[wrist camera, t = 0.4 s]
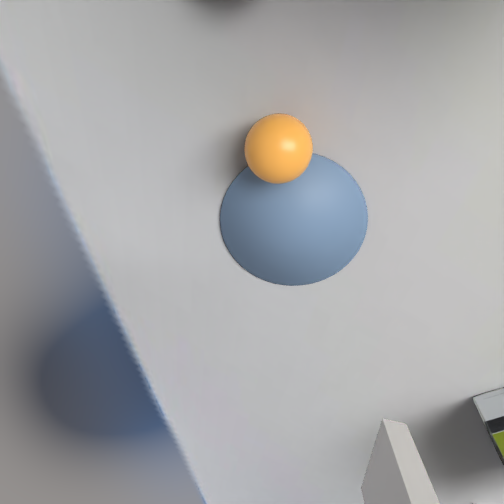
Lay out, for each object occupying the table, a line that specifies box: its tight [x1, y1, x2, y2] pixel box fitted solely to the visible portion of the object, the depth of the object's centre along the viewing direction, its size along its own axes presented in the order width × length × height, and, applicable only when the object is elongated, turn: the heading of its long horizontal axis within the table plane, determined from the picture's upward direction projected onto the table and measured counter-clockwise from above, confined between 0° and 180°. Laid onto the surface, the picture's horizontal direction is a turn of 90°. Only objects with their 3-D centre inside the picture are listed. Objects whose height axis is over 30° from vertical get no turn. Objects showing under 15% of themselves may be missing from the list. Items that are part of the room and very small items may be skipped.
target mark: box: [220, 153, 368, 286], centre depth 39 cm, size 14×14×1 cm
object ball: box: [244, 114, 313, 184], centre depth 33 cm, size 6×6×6 cm
